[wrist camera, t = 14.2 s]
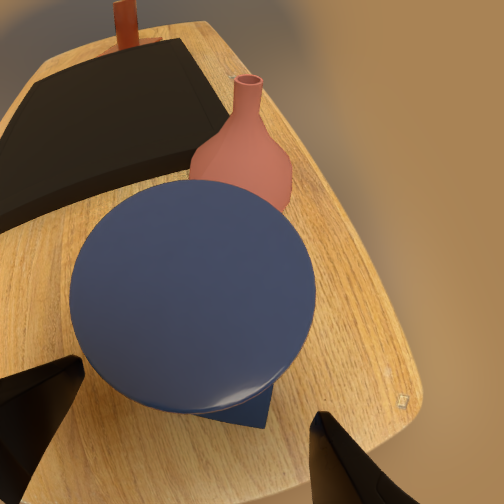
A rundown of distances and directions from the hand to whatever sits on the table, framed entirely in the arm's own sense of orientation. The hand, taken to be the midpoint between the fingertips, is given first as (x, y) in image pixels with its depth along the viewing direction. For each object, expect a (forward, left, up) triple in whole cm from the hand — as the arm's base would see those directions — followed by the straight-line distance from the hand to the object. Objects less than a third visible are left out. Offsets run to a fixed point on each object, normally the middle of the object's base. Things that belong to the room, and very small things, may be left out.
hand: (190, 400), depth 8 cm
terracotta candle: (+58, +37, -8) cm, 69 cm away
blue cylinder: (+3, 0, -8) cm, 8 cm away
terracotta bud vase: (+15, +1, -9) cm, 17 cm away
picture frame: (+30, +27, -9) cm, 41 cm away
